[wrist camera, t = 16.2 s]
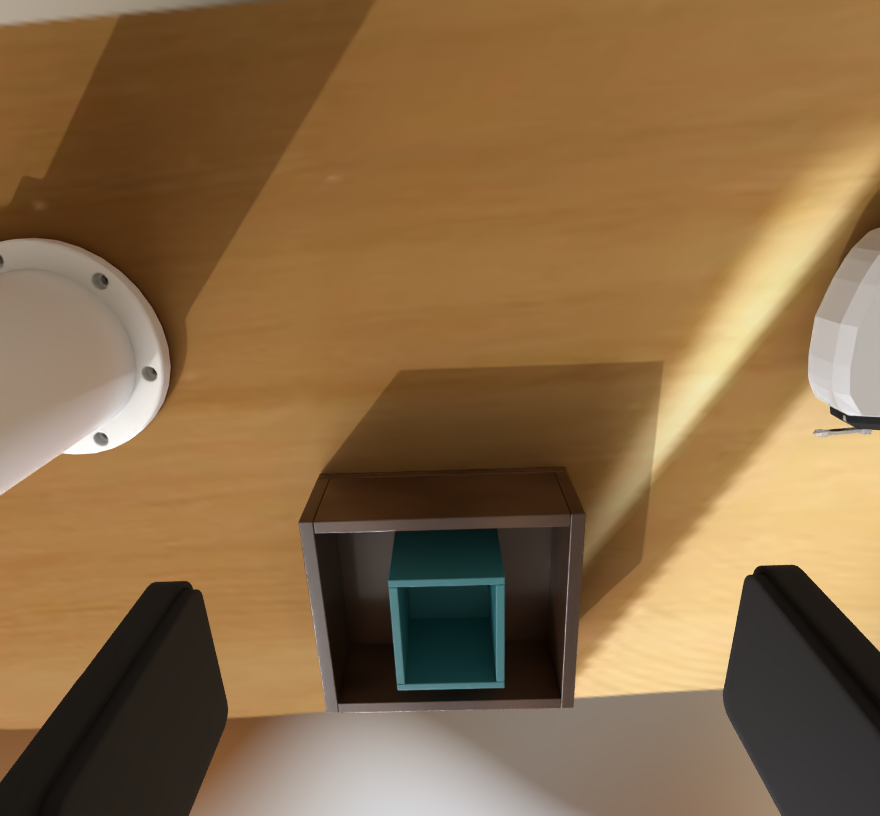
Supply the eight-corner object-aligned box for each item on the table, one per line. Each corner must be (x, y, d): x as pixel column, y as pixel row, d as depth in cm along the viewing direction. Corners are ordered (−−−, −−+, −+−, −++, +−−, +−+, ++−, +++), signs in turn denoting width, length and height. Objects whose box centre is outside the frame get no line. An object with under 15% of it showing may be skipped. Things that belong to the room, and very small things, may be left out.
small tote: (496, 617, 39) (504, 688, 34) (404, 619, 39) (397, 690, 34) (495, 517, 36) (505, 577, 31) (396, 520, 36) (387, 580, 31)
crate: (341, 647, 41) (326, 713, 36) (319, 473, 36) (298, 522, 31) (557, 641, 41) (573, 708, 35) (565, 466, 36) (586, 513, 30)
